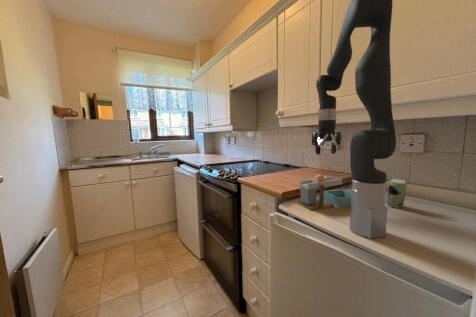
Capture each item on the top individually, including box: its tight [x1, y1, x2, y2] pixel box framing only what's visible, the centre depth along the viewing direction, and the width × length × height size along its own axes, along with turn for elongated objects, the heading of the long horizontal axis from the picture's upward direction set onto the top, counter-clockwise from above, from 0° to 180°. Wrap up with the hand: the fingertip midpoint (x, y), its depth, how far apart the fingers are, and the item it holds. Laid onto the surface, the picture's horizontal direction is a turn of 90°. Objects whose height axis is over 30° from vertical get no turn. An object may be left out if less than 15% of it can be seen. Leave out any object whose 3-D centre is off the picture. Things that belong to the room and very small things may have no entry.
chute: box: [299, 175, 343, 205], centre depth 93 cm, size 17×12×10 cm
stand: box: [297, 185, 335, 211], centre depth 90 cm, size 12×10×10 cm
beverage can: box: [385, 178, 408, 209], centre depth 86 cm, size 6×7×12 cm
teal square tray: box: [324, 188, 351, 208], centre depth 94 cm, size 12×12×4 cm
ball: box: [314, 173, 325, 182], centre depth 90 cm, size 4×4×4 cm
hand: (325, 153), depth 96 cm, fingers open, 8 cm apart
